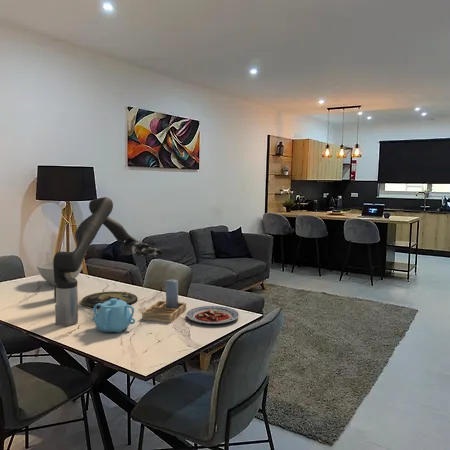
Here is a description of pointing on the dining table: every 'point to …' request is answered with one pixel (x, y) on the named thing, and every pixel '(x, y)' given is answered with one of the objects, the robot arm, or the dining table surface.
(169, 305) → the pale blue cylinder
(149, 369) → the dining table surface
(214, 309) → the ceramic plate
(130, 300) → the decorative plate
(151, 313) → the wooden compartment tray
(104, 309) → the decorative pot
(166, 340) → the dining table surface
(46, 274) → the decorative bowl
